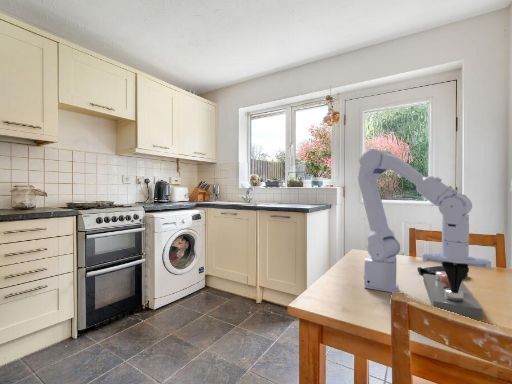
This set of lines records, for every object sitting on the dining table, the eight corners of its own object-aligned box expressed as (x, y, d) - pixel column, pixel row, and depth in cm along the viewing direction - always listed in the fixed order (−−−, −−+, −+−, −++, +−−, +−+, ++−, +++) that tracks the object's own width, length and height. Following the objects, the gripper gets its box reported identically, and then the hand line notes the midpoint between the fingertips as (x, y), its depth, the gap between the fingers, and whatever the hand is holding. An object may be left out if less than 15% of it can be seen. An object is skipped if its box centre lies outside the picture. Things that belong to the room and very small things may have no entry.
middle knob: (440, 290, 77) (441, 276, 77) (438, 285, 81) (438, 272, 81) (458, 292, 75) (458, 278, 75) (454, 287, 79) (455, 274, 79)
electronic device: (442, 287, 90) (474, 277, 94) (438, 271, 90) (471, 261, 94) (418, 281, 99) (449, 272, 103) (415, 266, 99) (446, 258, 103)
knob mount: (433, 310, 70) (433, 301, 70) (423, 280, 91) (423, 273, 91) (482, 319, 65) (482, 309, 65) (459, 285, 87) (459, 278, 87)
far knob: (436, 286, 84) (436, 274, 84) (434, 282, 88) (434, 270, 88) (452, 288, 83) (452, 276, 82) (449, 284, 86) (449, 272, 86)
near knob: (445, 307, 70) (446, 292, 70) (443, 301, 74) (443, 287, 74) (464, 310, 68) (465, 295, 68) (461, 304, 72) (461, 289, 72)
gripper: (485, 240, 71) (484, 290, 71) (421, 235, 77) (420, 282, 78) (494, 245, 65) (493, 301, 65) (423, 240, 71) (423, 290, 71)
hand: (454, 291), depth 71 cm, fingers closed, pressing on near knob
